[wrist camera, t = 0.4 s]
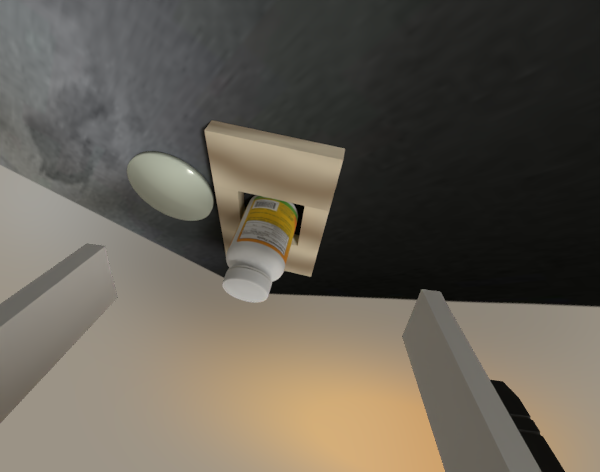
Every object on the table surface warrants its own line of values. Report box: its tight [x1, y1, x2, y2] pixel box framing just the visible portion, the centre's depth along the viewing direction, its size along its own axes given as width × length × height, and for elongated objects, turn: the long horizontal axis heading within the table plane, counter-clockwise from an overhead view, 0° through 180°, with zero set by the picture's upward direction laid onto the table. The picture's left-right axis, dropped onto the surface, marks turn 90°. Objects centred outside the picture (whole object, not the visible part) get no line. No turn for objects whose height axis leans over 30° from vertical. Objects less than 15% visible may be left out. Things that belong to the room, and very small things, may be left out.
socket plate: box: [204, 120, 345, 277], centre depth 30 cm, size 18×11×2 cm, turn 174°
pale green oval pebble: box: [127, 151, 214, 221], centre depth 30 cm, size 9×9×1 cm
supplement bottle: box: [222, 195, 298, 302], centre depth 27 cm, size 5×5×10 cm
